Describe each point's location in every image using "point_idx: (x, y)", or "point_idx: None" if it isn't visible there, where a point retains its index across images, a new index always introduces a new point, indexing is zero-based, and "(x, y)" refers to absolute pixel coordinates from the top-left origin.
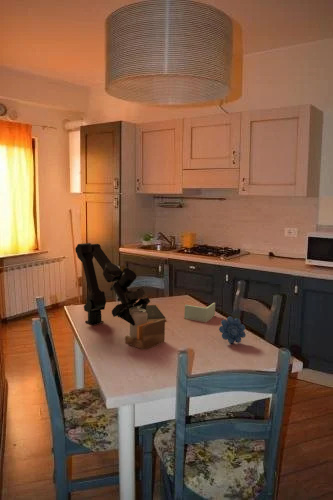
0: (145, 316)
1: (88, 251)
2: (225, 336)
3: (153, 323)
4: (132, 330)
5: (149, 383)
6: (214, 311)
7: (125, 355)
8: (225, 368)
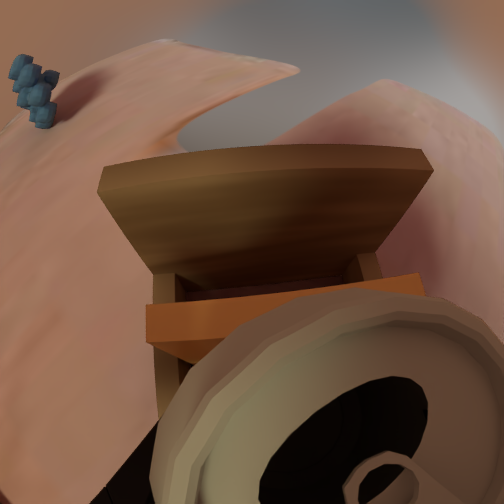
0: (314, 297)
1: None
2: (54, 103)
3: (304, 146)
4: (386, 409)
5: (426, 105)
6: None
7: (453, 263)
8: (219, 54)
